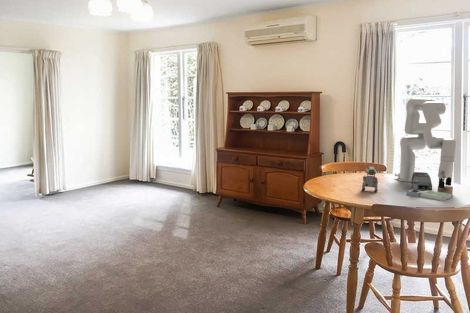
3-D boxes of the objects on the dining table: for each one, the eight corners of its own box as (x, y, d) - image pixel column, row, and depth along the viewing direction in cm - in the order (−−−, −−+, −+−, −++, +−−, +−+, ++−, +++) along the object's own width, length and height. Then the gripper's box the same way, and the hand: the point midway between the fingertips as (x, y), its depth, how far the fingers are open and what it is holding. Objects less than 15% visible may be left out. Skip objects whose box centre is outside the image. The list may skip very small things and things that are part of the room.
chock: (437, 193, 257) (437, 186, 256) (440, 192, 259) (441, 185, 259) (449, 196, 251) (449, 187, 251) (452, 194, 254) (452, 186, 254)
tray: (419, 196, 249) (419, 192, 248) (427, 193, 256) (428, 189, 255) (443, 201, 238) (443, 196, 238) (451, 198, 245) (451, 194, 245)
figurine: (379, 189, 266) (380, 166, 264) (375, 193, 256) (377, 169, 254) (364, 188, 271) (365, 165, 269) (360, 191, 261) (361, 167, 259)
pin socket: (406, 195, 253) (406, 190, 252) (411, 193, 257) (412, 189, 257) (417, 197, 247) (418, 192, 247) (423, 195, 252) (423, 191, 251)
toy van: (413, 193, 258) (414, 177, 257) (410, 185, 282) (411, 170, 280) (432, 194, 255) (433, 178, 254) (427, 186, 278) (428, 171, 277)
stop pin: (410, 195, 252) (411, 180, 251) (413, 194, 255) (414, 179, 253) (416, 196, 250) (417, 181, 248) (419, 195, 252) (420, 180, 251)
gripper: (446, 156, 261) (444, 183, 264) (434, 159, 250) (432, 187, 253) (459, 158, 255) (456, 185, 258) (447, 161, 244) (444, 189, 247)
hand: (444, 186), depth 255 cm, fingers open, 9 cm apart
